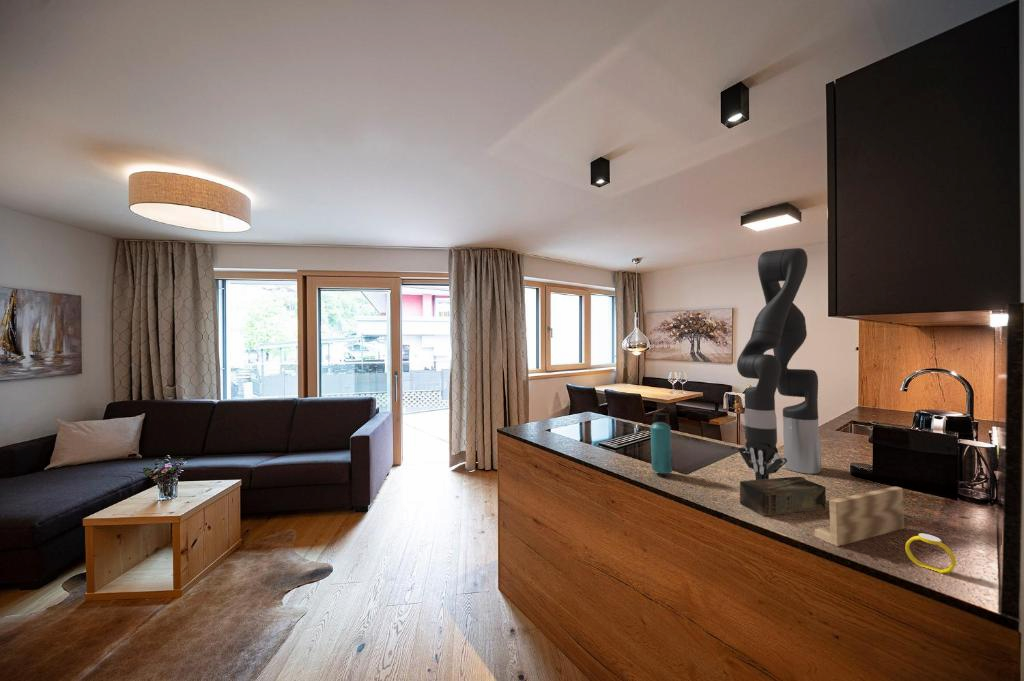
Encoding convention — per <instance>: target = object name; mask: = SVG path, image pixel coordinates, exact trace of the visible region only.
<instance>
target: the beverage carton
mask: <svg viewBox="0 0 1024 681" xmlns="http://www.w3.org/2000/svg"><path fill="white" fill-rule="evenodd" d="M826 488H827V487H826V486H824V485H821V484H818V483H816V482H813V481H811V480H808V479H806V478H805V477H803V476H790V477H776V478H769V479H760V480H756V479H749V480H743V481H742V480H741V481H739V503H740V504H741V505H743V506H744V507H746V508H748V509H749V510H752V511H753V512H755V513H756V514H759V515H760V516H762V517H767V516H777V515H785V514H794V513H802V512H811V511H816V510H824V509H826V504H827V502H826V501H827V497H826V491H827V490H826Z"/></svg>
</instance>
